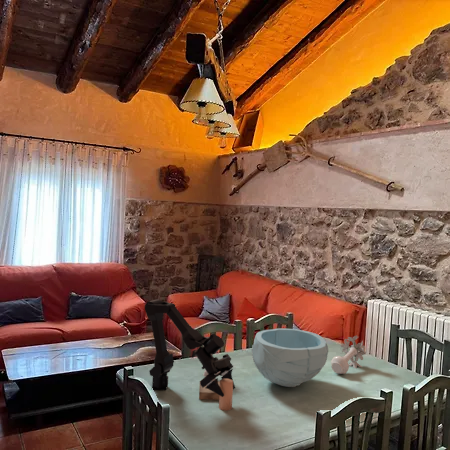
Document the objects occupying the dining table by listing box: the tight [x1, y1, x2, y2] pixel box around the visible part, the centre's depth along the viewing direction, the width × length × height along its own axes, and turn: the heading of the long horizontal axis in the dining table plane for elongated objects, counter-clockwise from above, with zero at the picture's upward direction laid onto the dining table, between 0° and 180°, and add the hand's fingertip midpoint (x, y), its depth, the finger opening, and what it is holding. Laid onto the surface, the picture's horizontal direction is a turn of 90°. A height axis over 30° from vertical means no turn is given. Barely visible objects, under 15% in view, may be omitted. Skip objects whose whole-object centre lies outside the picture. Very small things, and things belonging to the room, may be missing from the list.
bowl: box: [251, 327, 329, 388], centre depth 206 cm, size 35×35×22 cm
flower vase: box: [330, 334, 367, 375], centre depth 229 cm, size 13×18×25 cm
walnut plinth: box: [198, 381, 220, 401], centre depth 191 cm, size 12×12×3 cm
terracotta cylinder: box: [218, 378, 234, 412], centre depth 178 cm, size 6×6×11 cm
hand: (229, 392), depth 178 cm, fingers open, 9 cm apart
